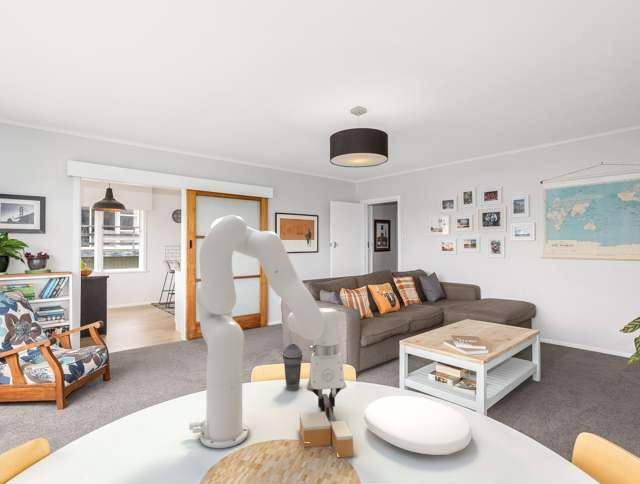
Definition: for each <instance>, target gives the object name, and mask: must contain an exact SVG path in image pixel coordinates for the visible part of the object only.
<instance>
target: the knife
mask: <svg viewBox="0 0 640 484" xmlns="http://www.w3.org/2000/svg"><path fill="white" fill-rule="evenodd" d="M322 395H323V398H324V411H323V412H325V414H326V416H327V418H328V419H329V420H330V422H332V421H337V419H336V416H335V414H334V407H333V406H332V404H331V402H330V400H329V394H328V393H322Z"/></svg>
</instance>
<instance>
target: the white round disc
mask: <svg viewBox="0 0 640 484" xmlns="http://www.w3.org/2000/svg"><path fill="white" fill-rule="evenodd" d="M363 420H364V423H365V425H366V427H367V428H368V430H369V431H370V432H371V433H373V434H374V435H375V436H377V437H379V438H380V439H382V440H383V441H385V442H387V443H389V444H391V445H393V446H395V447H397V448H399V449H403V450H405V451H409V452H413V453H417V454H423V455H431V456H432V455H433V456H443V455H444V456H446V455H448V456H449V455H451V454H454V453H456V452H459V451H462V450H463V449H465V448H466V447H467V446H469V444H470V442H471V440H472V435H473V432H472V428H471V425H470V422H469V421H468V420H467V418H466V417H465V416H464V414H462V413H461V412H460V411H457V410H455V409H454V408H452V407H450V406H448V405H446V404H444V403H440V402H437V401H434V400H431V399H427V398H423V397H417V396H412V395H411V396H410V395H390V396H384V397H380V398H378V399H375V400H374V401H372V402H370V404H368V405H367V406H366V407H365V409H364V410H363Z"/></svg>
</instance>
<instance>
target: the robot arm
mask: <svg viewBox="0 0 640 484" xmlns="http://www.w3.org/2000/svg"><path fill="white" fill-rule="evenodd" d="M234 252H237V253H240V254H242V255H244V256H247V257H251V258H252V259H253V258H254V259H256V260H257V261H258V262H259V265H260V267H261V269H262V271H263V273H264V275H265V278H266V280H267V282H268V285H269V286H270V288H271V289H272V291H273V292H274V293H275V294H276V295H277V296H278V297H279V298H280V299H281V300H282V301H283V302H284V303H285V304H286V305H287V307H288V308H289V310H290V311H291V312H290V313H289V314H288V315H287V319H286V325H287V327H288V329H290V330H291V332H293V333H294V334H296V335H298V336H300V337H302V338H303V339H305V340H308V341H313V344H312V345H309V346H308V348H309V349H308V350H309V351H312V353H311V355H310V364H309V380H308V382H307V384H306V386H305V389H306V390H307V391H308V392H311V393H313V394H314V395H315V396H317V406H318V408H319V409H320V412H323V411H324V398H323V395H322V394H323V390H328V389H330V390H329V391H330V392H329V394H328V397H329V400H330V402H331V404H332V406H333V408H334V407H336V397H337V395H338V394H339V392H341V390H344V389H346V388H347V384H346V382H345V377H344V376H345V375H344V363H343V362H344V361H343V357H342V353H341V352H339V312H338V311H337V309H335V308H332V307H320V308H319V306H318V304H317V302H316V300H315V298H314V296H313V295H312V293H311V292H310V291H309V289H308V288H307V286H306V285H305V283H304V282H303V280H302V279H301V278H300V277H299V275H298V274H297V271H296V269H295V266H294V265H293V262H292V261H291V258H290V256H289V254H288V252H287V249H286V247H285V245H284V243H283V240H282V239H281V237H280V236H279V235H278V233H276V232H275V231H271V230H257V229H255V228H252V227H249V226H248V225H247V222H246V220H245V219H244V218H242V217H241V216H239V215H237V214H229V215H224V216H221V217H220V218H217V219H216V220H215V221H213V223H212V225H211V227H210V228H209V230H208V232H206V234H205V235H204V237H203V239H202V241H201V245H200V248H199V256H198V258H199V259H198V260H199V272H200V282H201V283H200V284H199V286H198V288H197V291H196V302H197V310H198V319H199V325H200V332H201V336H202V339H203V340H204V342H205V343H206V345H207V346H206V347H207V356H206V369H205V371H206V373H205V374H206V376H205V377H206V378H205V379H206V416H205V419H201V420H200V421H197V420H196V421H190V422H189V425H188V427H189V430H190V431H192V434H197V433H200V436H199V439H200V442H201V443H202V445H204V446H206V447H209V448H213V449H227V448H230V447H234V446H236V445H239V444H240V443H242V442H244V441H245V440H246V439H247V438H248V435H249V428H248V426H247V425H246V424H245V423H243V359H244V351H245V334H244V330H243V329H242V327H241V325H240V324H239V323H238V322H237V321H236V320H235V319H234V318H233V312H232V310H233V309H234V308H235V306H236V302H237V292H236V287H235V280H234V271H233V254H234Z"/></svg>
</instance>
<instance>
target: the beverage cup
mask: <svg viewBox="0 0 640 484" xmlns="http://www.w3.org/2000/svg"><path fill="white" fill-rule="evenodd" d="M291 332H292V331H289V332H288V334H289V335H288V336H289V343H290V344H288V345H287V346H286V347H285V348H284V350H283V352H282V360H283V365H284V377H285V387H286V390H288V391H298V390H299V389H300V384H301V383H300V382H301V372H302V371H301V369H302V361H303V357H304V356H303V351H302V349H301V347H300V346H299V345H298V344H295V343H293V342H292V341H293V340H292V334H291Z"/></svg>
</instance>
